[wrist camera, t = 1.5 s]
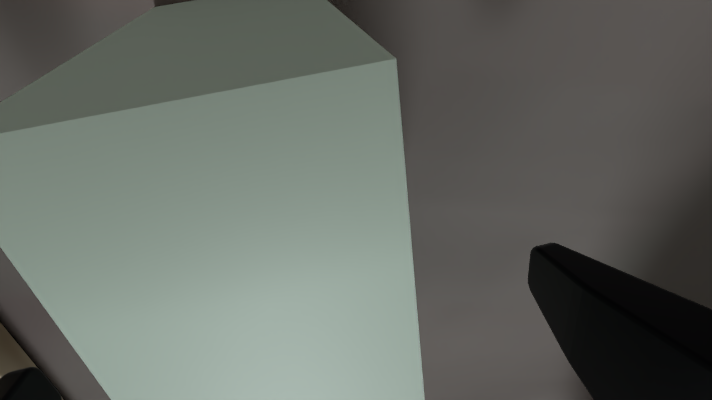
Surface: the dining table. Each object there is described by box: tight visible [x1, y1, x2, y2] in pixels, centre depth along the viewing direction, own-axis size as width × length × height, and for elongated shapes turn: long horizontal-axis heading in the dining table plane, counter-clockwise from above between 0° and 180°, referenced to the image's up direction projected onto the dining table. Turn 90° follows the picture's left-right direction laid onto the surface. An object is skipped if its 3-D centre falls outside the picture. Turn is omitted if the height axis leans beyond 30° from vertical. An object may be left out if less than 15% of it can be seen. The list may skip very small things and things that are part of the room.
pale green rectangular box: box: [0, 0, 425, 400], centre depth 8 cm, size 10×3×7 cm, turn 8°
